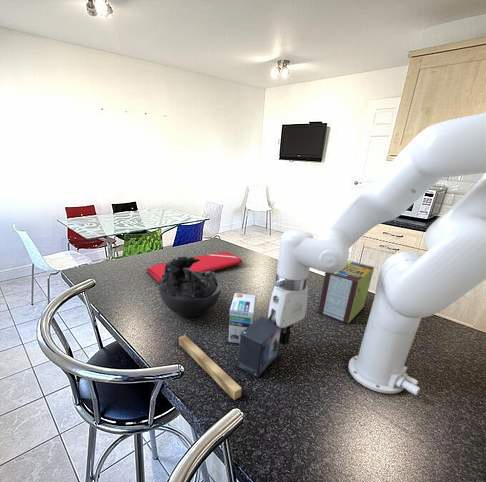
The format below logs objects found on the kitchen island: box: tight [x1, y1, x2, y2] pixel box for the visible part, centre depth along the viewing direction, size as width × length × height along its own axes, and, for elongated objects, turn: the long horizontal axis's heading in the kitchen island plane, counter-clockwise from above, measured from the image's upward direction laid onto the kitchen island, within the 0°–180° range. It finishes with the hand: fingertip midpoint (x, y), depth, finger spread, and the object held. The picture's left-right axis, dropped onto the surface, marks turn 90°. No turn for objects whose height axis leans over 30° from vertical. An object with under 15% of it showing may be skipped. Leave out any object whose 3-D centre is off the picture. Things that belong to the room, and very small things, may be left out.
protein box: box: [317, 260, 375, 325], centre depth 98 cm, size 10×15×16 cm
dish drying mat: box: [146, 251, 244, 284], centre depth 131 cm, size 16×41×4 cm, turn 121°
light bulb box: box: [228, 292, 257, 345], centre depth 85 cm, size 11×7×11 cm, turn 168°
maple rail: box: [178, 334, 243, 401], centre depth 73 cm, size 24×2×2 cm, turn 36°
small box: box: [236, 315, 281, 378], centre depth 74 cm, size 11×6×10 cm, turn 142°
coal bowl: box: [158, 255, 222, 317], centre depth 94 cm, size 20×20×19 cm
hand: (282, 341), depth 80 cm, fingers closed
